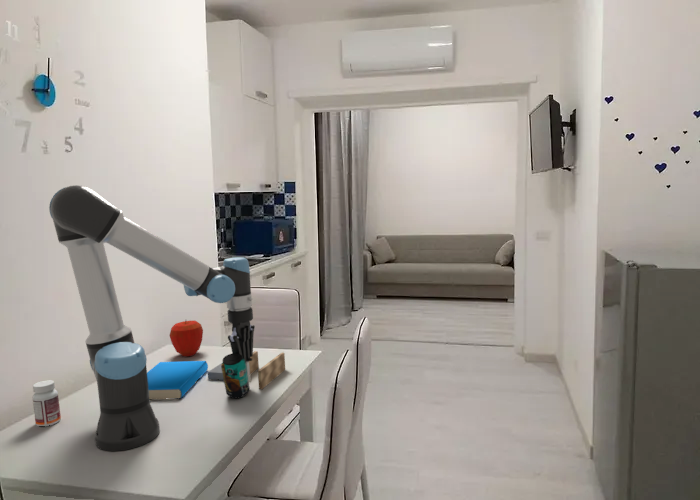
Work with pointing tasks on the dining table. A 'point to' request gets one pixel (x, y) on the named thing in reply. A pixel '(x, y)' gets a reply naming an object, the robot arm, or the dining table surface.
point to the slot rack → (267, 369)
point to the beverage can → (235, 375)
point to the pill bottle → (46, 403)
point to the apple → (186, 337)
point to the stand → (216, 373)
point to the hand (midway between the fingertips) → (245, 382)
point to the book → (174, 378)
